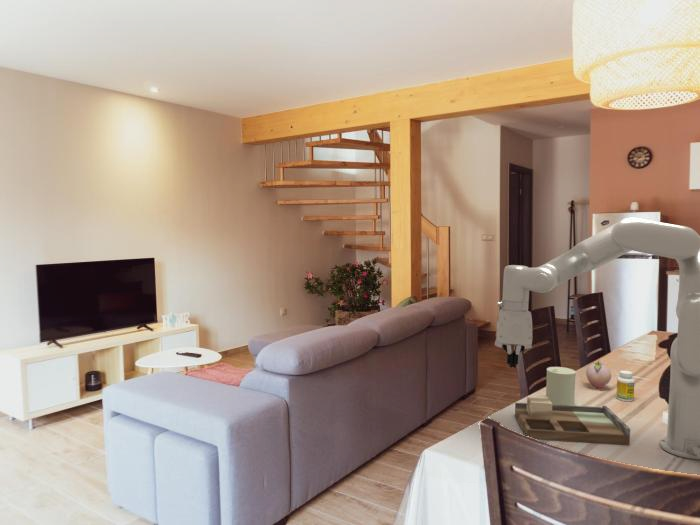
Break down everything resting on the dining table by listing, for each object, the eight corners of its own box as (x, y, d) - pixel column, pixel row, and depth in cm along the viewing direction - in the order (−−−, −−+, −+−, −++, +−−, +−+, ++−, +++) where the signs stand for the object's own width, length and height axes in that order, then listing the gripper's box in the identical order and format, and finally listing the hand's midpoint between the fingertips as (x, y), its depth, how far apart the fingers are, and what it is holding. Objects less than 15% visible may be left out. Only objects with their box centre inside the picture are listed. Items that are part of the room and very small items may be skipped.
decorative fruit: (612, 393, 193) (614, 365, 192) (588, 390, 195) (589, 363, 194) (607, 385, 202) (609, 359, 201) (584, 383, 204) (585, 357, 203)
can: (539, 401, 182) (540, 366, 182) (560, 398, 186) (562, 364, 185) (558, 410, 174) (560, 373, 173) (580, 407, 177) (582, 371, 176)
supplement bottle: (621, 395, 190) (623, 369, 189) (636, 400, 185) (638, 372, 184) (613, 398, 187) (614, 371, 186) (628, 402, 182) (629, 375, 182)
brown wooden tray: (629, 444, 146) (630, 428, 146) (527, 438, 150) (527, 423, 149) (605, 420, 165) (605, 405, 165) (514, 415, 169) (515, 401, 168)
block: (551, 418, 159) (552, 403, 159) (530, 417, 160) (531, 402, 159) (546, 411, 165) (547, 397, 164) (526, 410, 166) (527, 396, 165)
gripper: (491, 307, 158) (488, 368, 160) (543, 309, 156) (540, 371, 158) (487, 303, 166) (485, 361, 167) (538, 305, 164) (534, 364, 165)
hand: (512, 366), depth 162 cm, fingers closed
